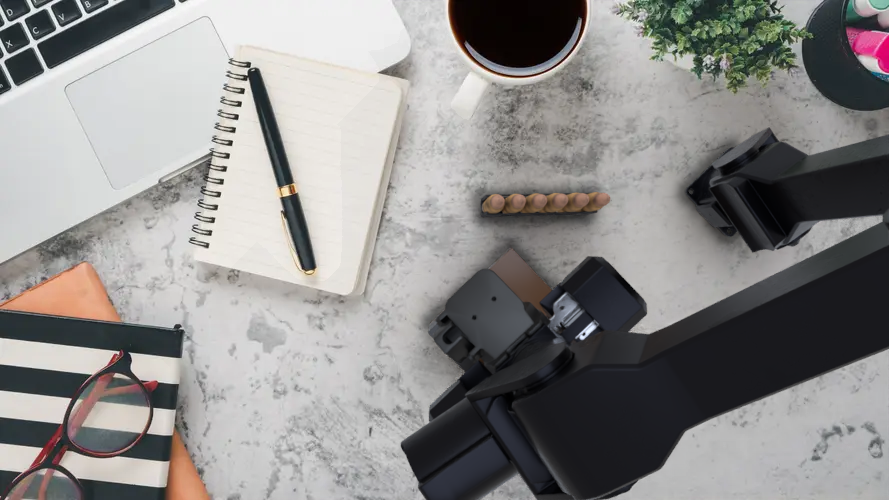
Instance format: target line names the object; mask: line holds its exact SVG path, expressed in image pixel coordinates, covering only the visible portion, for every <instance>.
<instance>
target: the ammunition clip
mask: <svg viewBox="0 0 889 500" xmlns="http://www.w3.org/2000/svg"><path fill="white" fill-rule="evenodd" d="M610 202H611V196H610V195H609V193H606V192H599V191H593V192H553V193H539V192H537V193H536V192H535V193H504V194H502V193H501V194H498V193H494V194H485V195H484V196H483V197H481V198H480V217H481V218H492V217H493V218H494V217H497V218H499V217H542V216H545V217H547V216H548V217H549V216H550V217H551V216H587V215H593V214H597V213H598V211H600V210H601V209H602V208H603V207H606V206H607V205H608V204H609V203H610Z"/></svg>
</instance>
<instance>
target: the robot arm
mask: <svg viewBox="0 0 889 500" xmlns="http://www.w3.org/2000/svg"><path fill="white" fill-rule="evenodd" d="M690 190H692V192H690ZM684 193H685V195H686V196H687V197H688V199H690V201H691V202H692V203H693V204H694V205H695V210H696V211H697V212H698V213H699V214H700V215H701V216H702V218H703V219H705V221H707V223H708V224H710V225H711V227H712V228H717V229H718V230H719V231H720V232H721V233H722V234H723V235H724V236H725V237H727V238H730V237H731V238H732V237H733V236H734V235H736V234H737V233H738V234H739V235H740V237H741V238H742V241H744V243H745V244H746V246H747V247H748V248H749V250H750V251H751V253H756V252H760V251H766V250H768V251H770V252H774V251H778V250H781V249H784V248H785V247H791V248H792V247H793V248H794V247H796V246H798V245H799V244H800V242H801V239H802V238H804V237H805V236H806V235H807V234H809V233H810V232H811V230H812V229H813V227H814V226H815V225H817V224H818V223H820V222H825V221H838V220H839V221H840V220H849V219H861V218H871V217H881V216H882V219H881V220H882V221H880V222H878V223H877V224H875V225H872V226H870V227H868V228H866V229H864V230H862V231H860V232H858V233H856V234H854V235H852V236H850V237H848V238H846V239H843V240H842V241H840V242H838V243H836V244H833V245H831V246H830V247H828V248H825V249H823V250H821V251H819V252H817V253H815V254H813V255H810V256H809V257H807V258H805V259H803V260H801V261H799V262H797V263H794V264H793V265H791V266H788V267H786V268H785V269H782V270H781V271H778V272H776V273H774V274H772V275H770V276H768V277H766V278H764V279H761V280H760V281H757V282H756V283H753V284H752V285H749V286H747V287H745V288H743V289H741V290H739V291H737V292H735V293H733V294H731V295H728V296H727V297H725V298H723V299H721V300H719V301H717V302H715V303H713V304H710V305H709V306H706V307H704V308H702V309H700V310H698V311H696V312H694V313H692V314H690V315H688V316H685V317H684V318H682V319H679V320H678V321H675V322H674V323H672V324H670V325H667V326H665V327H662V328H660V329H658V330H655V331H653V332H651V333H641V332H631V331H632V329H633V328H634V327H635V326H636V325H637V324H639V323H640V322H641V321H642V320H643V319H644V318H645V317H646V316H647V315H648V303H647V302H646V300H645V299H644V298H643V297H642V295H641V294H640V293H639V292H638V291H637V290H636V289H635V288H634V287H633V286H632V285H631V284H630V283H629V281H627V280H626V278H624V276H622V274H621V273H620V272H619V271H618V270H617V269H616V268H615V267H614V266H613V265H612V264H611V263H610V262H609V261H608V260H607V259H606V258H604V256H599V255H597V256H595V255H587V256H586V257H585V258H584V259H583V260H582V261H581V262H580V263H578V265H576V267H575V268H573V269H572V271H571V272H569V273H568V274H567V275H566V276H565V277H564V278H563V280H562V281H561V282H559V283H558V284H557V285H556V286H555V287H554V288H553V289H552V291H551V292H550V293H549V294H548V295H546V296H545V297H544V298H543V299H542V300H541V301H540V302H539V304H540V305H541V307H542V308H543V310H544V312H545V313H546V315H547V316H545V315H544V314H543V313H542V312H541V311H540V310H539V309H536V308H535V306H534V305H533V304H532V303H531V302H523V301H522V300H521V299H520V298H519V297H518V296H517V295H516V294H515V293H514V292H513V291H512V290H511V289H510V288H509V287H508V285H507V284H506V283H505V282H504V281H503V280H502V279H501V278H500V277H499V276H498V275H497V274H496V273H495V272H494V271H492V270H490V269H488V268H482V269H480V270H477V272H476V273H474V274H473V275H472V276H471V277H470V278H469V279H468V280H467V281H466V282H465V283H463V285H461V287H460V288H458V289H457V291H456V292H455V293H453V294H452V295H451V296H450V297H449V298H448V299H447V301H446V302H445V305H444V309H445V310H444V309H443V310H444V311H443V310H442V311H443V312H442V311H441V312H442V313H441V312H440V313H441V314H440V313H439V314H440V315H439V314H438V315H439V316H438V315H437V316H438V317H437V316H436V317H437V318H436V317H435V318H436V319H435V318H434V319H435V320H436V322H437V323H438V324H439V328H438V329H437V330H436V331H435V332H434V333H433V338H432V339H433V342H434V344H436V345H437V346H438V347H439V349H440V350H441V352H443V353H444V354H445V355H446V356H447V357H448V358H450V359H451V360H452V361H453V362H455V363H456V362H457V363H462V362H463V361H464V360H465V359H466V358H469V359H470V360H471V361H472V362H473V363H474V365H472V366H471V367H470V368H469V369H468V370H467V371H466V372H465V371H464V373H463V374H462V375H460V377H459V378H457V380H456V381H454V382H453V383H452V384H451V385H449V387H447V389H446V390H444V391H443V393H441V395H439V396H438V397H437V398H436V399H435V400H434V401H433V402H432V403H431V404H429V406H428V407H429V408H428V423H426V424H424V425H423V426H422V427H420V428H418V429H417V430H416V431H415V432H413V433H412V434H410V435H409V436H407V437H406V438H404V439H402V440H401V442H400V448H401V451H402V452H403V453H404V455H405V457H406V460H407V463H408V464H409V466H410V469H411V471H412V473H413V474H414V477H415V479H416V480H417V482H418V483H417V490H418V491H419V492H420V494H421V495H422V497H423V498H424V499H425V500H482V499H484V498H485V497H486V496H488V495H490V494H491V493H493V492H494V491H495V490H497V489H498V488H500V487H501V486H503V485H504V484H506V483H507V482H509V481H510V480H512V479H513V478H515V477H516V476H518V475H519V476H520V478H521V479H522V481H523V482H524V484H525V485H526V487H527V488H528V490H529V491H530V492H531V494H532V495H533V497H534V498H535V499H536V500H611V499H613V498H615V497H617V496H619V495H622V494H626V493H629V491H630V490H631V489H632V488H633V487H634V485H635V484H636V483H638V482H639V480H642V479H644V478H646V477H648V476H650V475H652V474H655V473H657V472H658V471H660V470H661V469H663V467H664V466H665V464H666V463H667V461H668V459H670V456H671V455H672V454H673V452H674V450H675V449H676V448H677V445H678V444H679V442H680V441H681V439H682V437H684V435H685V433H686V432H687V431H691V430H692V429H693V428H696V427H698V426H700V425H702V424H704V423H706V422H708V421H710V420H713V419H715V418H718V417H721V416H723V415H726V414H728V413H730V412H733V411H735V410H738V409H741V408H743V407H745V406H748V405H751V404H753V403H756V402H758V401H761V400H764V399H766V398H769V397H771V396H773V395H776V394H779V393H781V392H784V391H786V390H788V389H792V388H794V387H796V386H799V385H801V384H804V383H807V382H809V381H811V380H814V379H817V378H819V377H821V376H824V375H827V374H830V373H832V372H834V371H837V370H839V369H842V368H845V367H847V366H849V365H852V364H854V363H858V362H860V361H862V360H866V359H867V358H870V357H872V356H875V355H878V354H880V353H882V352H886V351H887V350H889V134H885V135H881V136H877V137H874V138H870V139H866V140H862V141H859V142H855V143H851V144H847V145H843V146H839V147H836V148H832V149H828V150H824V151H821V152H817V153H813V154H807V153H805V152H804V151H802V150H800V149H798V148H796V147H795V146H793V145H791V144H789V143H787V142H785V141H779V139H778V138H777V135H775V133H774V131H773V130H772V128H771V127H767V128H765V129H763V130H760V131H759V132H757V133H755V134H753V135H751V136H750V137H748V138H747V139H745V140H744V141H742V142H741V143H740V144H738V145H736V146H735V147H733V146H732V147H729V148H727V149H726V150H725V151H724V152H723V153H722V154H720V155H719V156H718V157H717V158H716V159H715V160H714V161H713V162H712V163H711V164H709V166H708V167H706V169H705V170H703V171H702V172H701V173H700V174H699V176H697V177H696V178H695V179H694V180H693V181H692V182H690V184H689V185H687V186H686V188H685V190H684ZM729 230H730V233H729ZM557 328H558V329H559V330H558V329H557ZM553 329H554V330H553ZM555 330H556V331H557V330H558V331H557V332H556V331H555ZM480 358H481V359H482V360H483V361H484V363H483V362H481V361H480V360H479V359H480ZM457 363H456V364H457Z"/></svg>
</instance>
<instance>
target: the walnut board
mask: <svg viewBox="0 0 889 500" xmlns="http://www.w3.org/2000/svg"><path fill="white" fill-rule="evenodd" d="M487 269H490V270H492V271H494V272H495V273H496V274H497V275H498V276H499V277H500V278H501V279H502V280H503V281H504V282H505V283H506V284H507V285H508V287H509V288H510V289H511V290H512V291H513V292H514V293H515V294H516V295H517V296H518V297H519V298H520V299H521V300H522V301H523V302H531V303H532V304H533V305H534V306H535V308H536V309H539V310H540V311H541V312H542V313H543V314H544V315H545V316H547V315H546V313H545V312H544V310H543V308H542V307H541V305H540V304H539V302H540V301H541V300H542V299H543V298H544V297H545V296H546V295H548V294H549V293H550V292H551V291H552V290H553V289H552V288H551V287H550V286H549V285H548V284H547V283H546V282H545V281H544V280H543V278H541V276H539V274H537V272H536V271H535V270H534V269H533V268H532V267H531V266H530V264H528V263H527V262H526V261H525V259H523V258H522V257H521V256H520V254H519V253H518V252H517V251H516V250H515V249H514V248H513V247H508V248H507V249H506V250H505V252H503V253H502V254H501V255H500V256H499V257H498V258H497V259H496V260H495V261H494V262H492V264H491V265H489V267H487ZM444 310H445V308H444V309H443V310H442V311H441V312H440V313H439V314H438V315H436V316H435V318H433V320H431V321H430V322H429V325H428V328H427V334H428V335H429V336H430V337H431V338H432V339H433V333H434V332H435V331H436V330H437V329H438V328H439V324H438V323H437V322H436V320H435V319H436V318H437V317H438V316H439V315H440V314H441V313H442V312H443V311H444ZM479 360H480V361H481V362H483V363H484V361H483V360H482V359H481V358H480V359H479ZM455 363H456V364H457V365H458V366H459V367H460V368H461V369H462V370H463V371H464V373H465V372H466V371H467V370H468V369H469V368H470V367H471V366H472V365H474V363H473V362H472V361H471V360H470V359H469V358H466V359H465V360H464V361H463V362H462V363H457V362H455Z"/></svg>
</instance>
